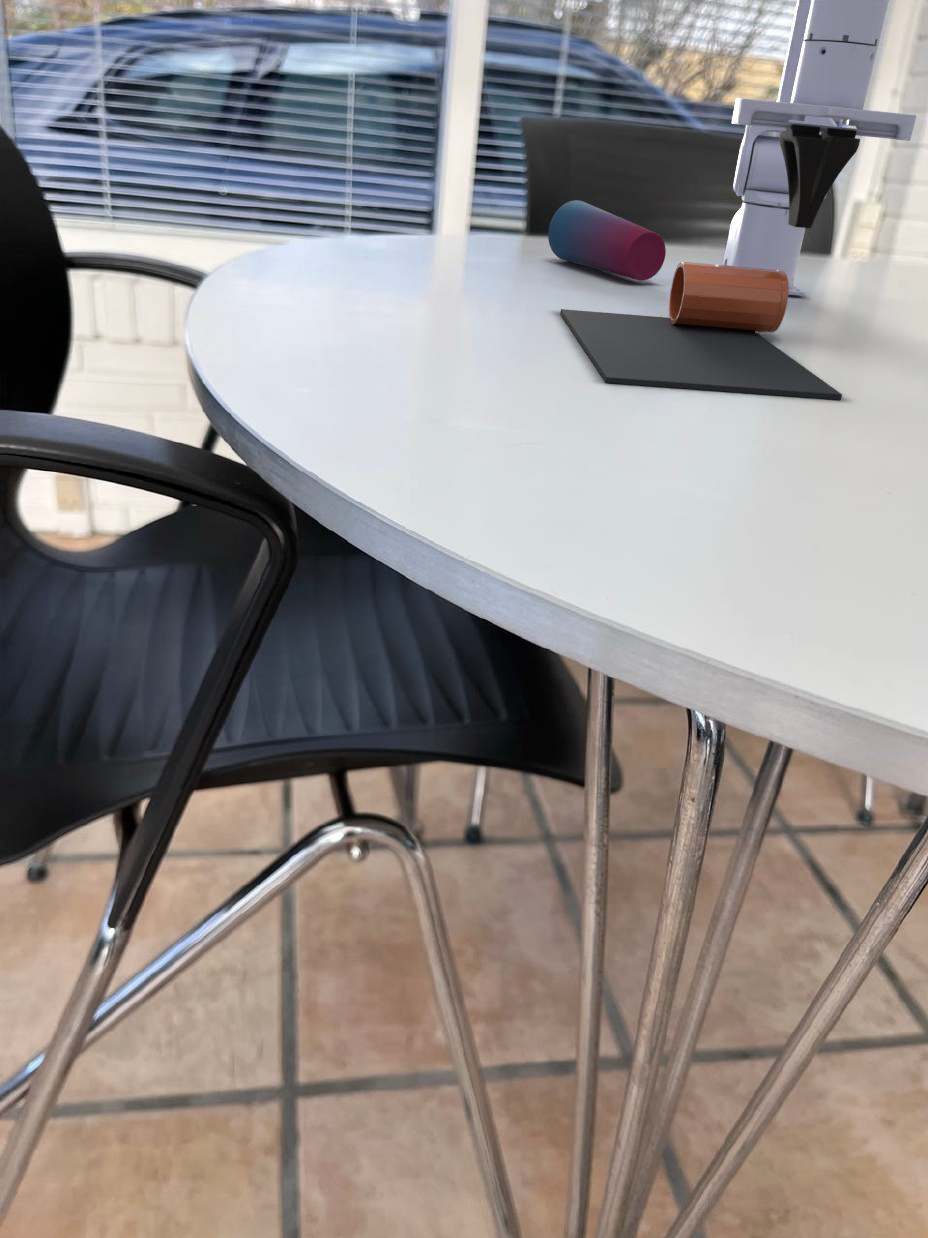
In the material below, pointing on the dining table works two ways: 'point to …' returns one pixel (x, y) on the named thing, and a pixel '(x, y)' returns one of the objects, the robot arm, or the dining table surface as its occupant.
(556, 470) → the dining table surface
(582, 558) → the dining table surface
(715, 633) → the dining table surface
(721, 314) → the small cup
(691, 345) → the mat
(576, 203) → the cup
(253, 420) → the dining table surface
